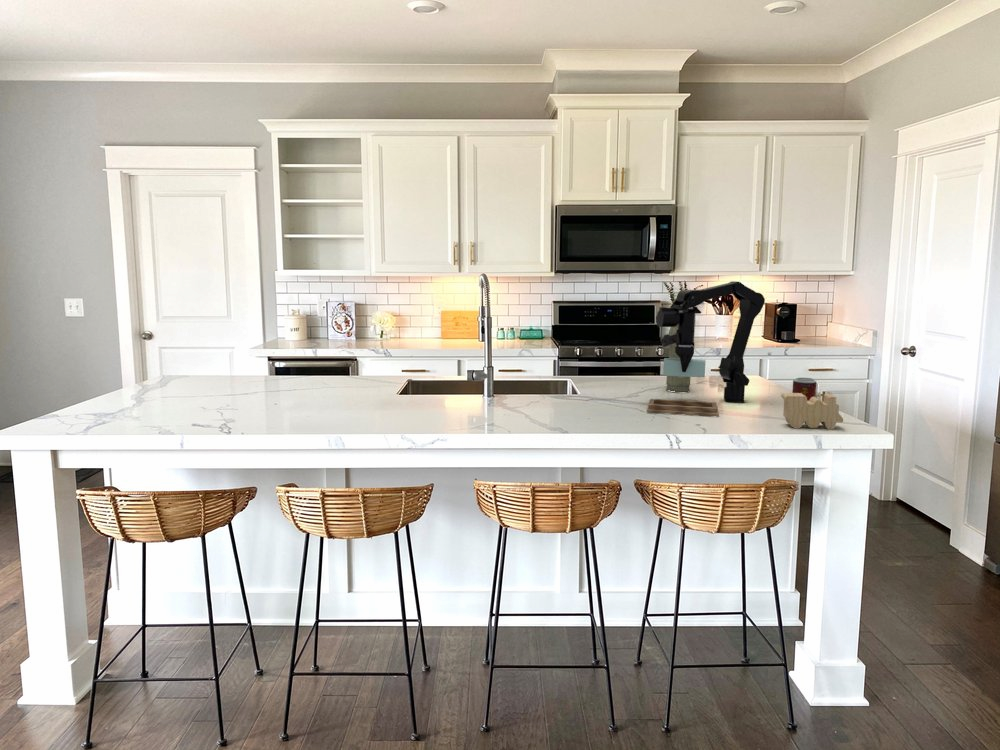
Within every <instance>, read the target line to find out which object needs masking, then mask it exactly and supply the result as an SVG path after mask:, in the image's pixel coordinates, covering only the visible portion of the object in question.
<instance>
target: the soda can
mask: <svg viewBox="0 0 1000 750" xmlns="http://www.w3.org/2000/svg"><path fill="white" fill-rule="evenodd" d="M817 385H818V383H817V380H815V379H814V378H811V377H796V378H795V379H793V380H792V392H791V393H802V394H803V395H804V396H806V397H807V401H809V400H810V398H811V397H816V396H817ZM816 398H817V397H816Z"/></svg>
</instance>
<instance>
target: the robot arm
mask: <svg viewBox="0 0 1000 750" xmlns="http://www.w3.org/2000/svg"><path fill="white" fill-rule="evenodd" d="M730 295H732V296H733V297H734V298H735V299H736V300H737V301H739V304H738V308H739V309H738V310H739V315H740V316H739V319H738V322H737V326H736V330H735V333H734V336H733V340H732V343H731V345H730V350H729V353H728V355H726V357H721V358H720V359H721V360H720V363H719V366H718V368H717V369H719V371H718V372H719V373H718V374H720V376H721V378H722V381H723V383H725V386H724V387H723V400H724V402H726V403H727V402H728V403H743V404H744V403H745V390H746V386H747V387H748V385H749V383H750V379H749V378H748V377H747V375H746V374H745V373H744V370H745V361H744V355H745V352H746V349H747V346H748V341H749V337H750V335H751V331H752V328H753V324H754V321H755V319H756V318H757V316H758V315H759V314H760V313H761V311H762V310H763V307H764V306H765V302H766V299H765V296H764V295H763V294H762V293H761V292H756V291H755V290H754V289H752V288H749V287H748V286H746V285H744V283H742V282H741V281H735V280H732V281H730V282H728V283H727V282H726V283H723V284H718V285H714V286H710V287H706V288H702V289H701V288H700V289H683V290H680V291H678V293H677V295H676V298H675V300H674V301H673V302H672V304H671V305H670V307H664V306H661V307H660V306H659V308H658V309H659V310H658V312H657V313H656V316H655V323H656V325H657V327H658V328H670V327H675V326H676V325H677V324H678V330H677V331H676V333H675V334H671V335H669V333H667V334H664V335H663V336H662V337H661V338H660V342H661V344H662V347H663V348H666V347H669V346H668V345H671V344H674V343H676V345H677V346H676V347H675V353H676V354H677V355H678V356H679V357H680V361H681V367H682V372H686V370H687V368H688V365H689V363H690V361H691V359H692V358H693V356H694V355H695V345H696V344H695V343H696V342H695V329H696V327H695V326H696V315H697V314H698V315H699V314H702V311H701V310H700V309H699V308H698V306H699V305H701V304H703V303H704V302H706V301H708V300H712V299H717V298H721V297H727V296H730ZM690 307H692V308H691V309H688V308H690ZM679 310H680V311H682V312H679Z"/></svg>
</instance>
